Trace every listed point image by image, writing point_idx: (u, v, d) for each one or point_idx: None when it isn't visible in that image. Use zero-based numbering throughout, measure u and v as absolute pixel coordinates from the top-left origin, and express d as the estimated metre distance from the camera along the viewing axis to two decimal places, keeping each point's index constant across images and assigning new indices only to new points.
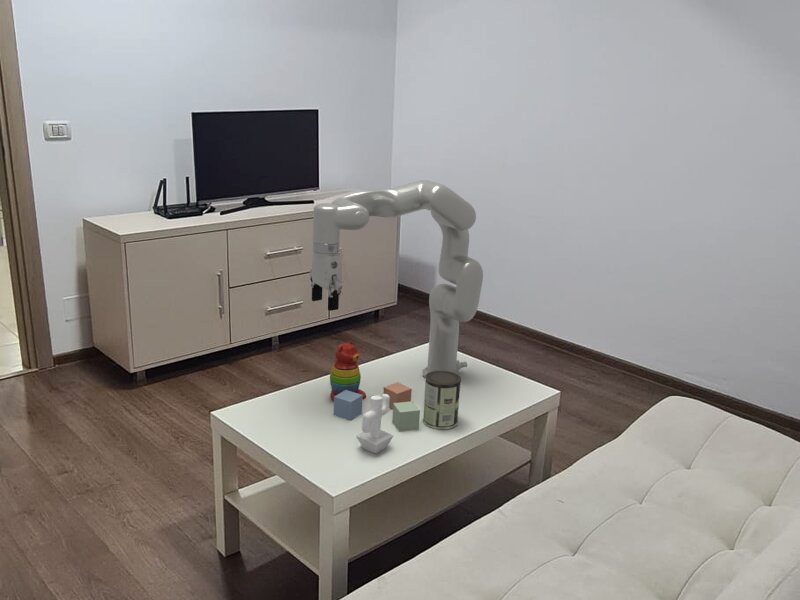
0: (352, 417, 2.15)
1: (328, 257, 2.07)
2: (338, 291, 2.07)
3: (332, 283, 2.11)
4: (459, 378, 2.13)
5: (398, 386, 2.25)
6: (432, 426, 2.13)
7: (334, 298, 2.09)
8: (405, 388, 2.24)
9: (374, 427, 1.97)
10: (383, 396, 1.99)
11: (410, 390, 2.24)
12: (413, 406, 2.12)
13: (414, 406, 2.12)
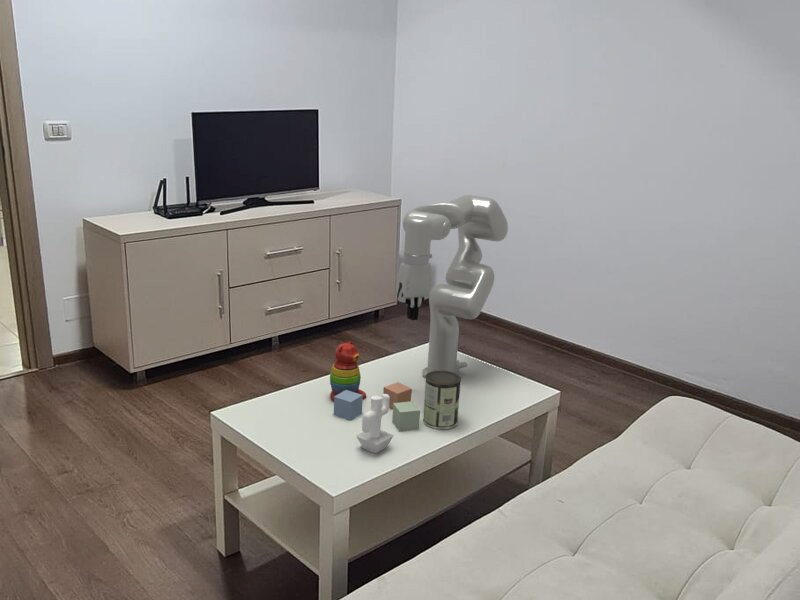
0: (352, 417, 2.15)
1: None
2: None
3: None
4: (459, 378, 2.13)
5: (398, 386, 2.25)
6: (432, 426, 2.13)
7: None
8: (405, 388, 2.24)
9: (374, 427, 1.97)
10: (383, 396, 1.99)
11: (410, 390, 2.24)
12: (413, 406, 2.12)
13: (414, 406, 2.12)
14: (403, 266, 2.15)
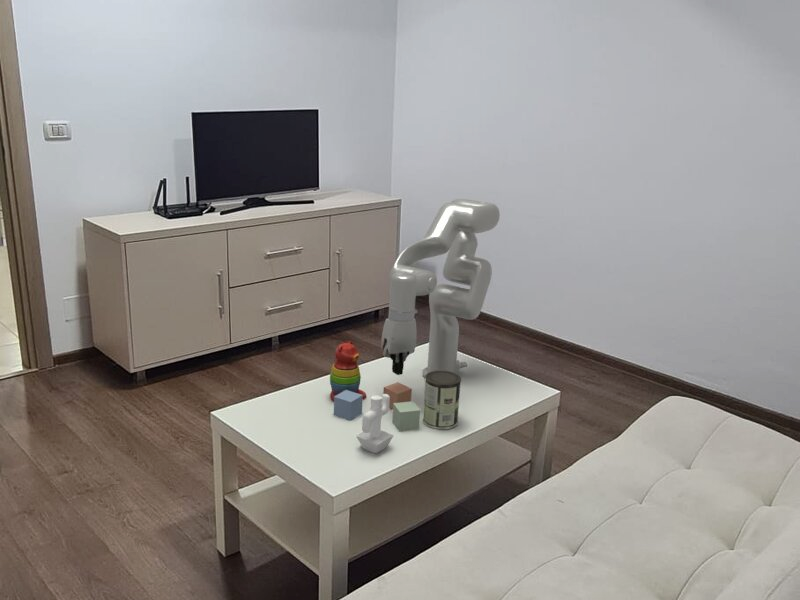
0: (352, 417, 2.15)
1: (415, 320, 2.18)
2: None
3: None
4: (459, 378, 2.13)
5: (398, 386, 2.25)
6: (432, 426, 2.13)
7: None
8: (405, 388, 2.24)
9: (374, 427, 1.97)
10: (383, 396, 1.99)
11: (410, 390, 2.24)
12: (413, 406, 2.12)
13: (414, 406, 2.12)
14: (388, 322, 2.15)
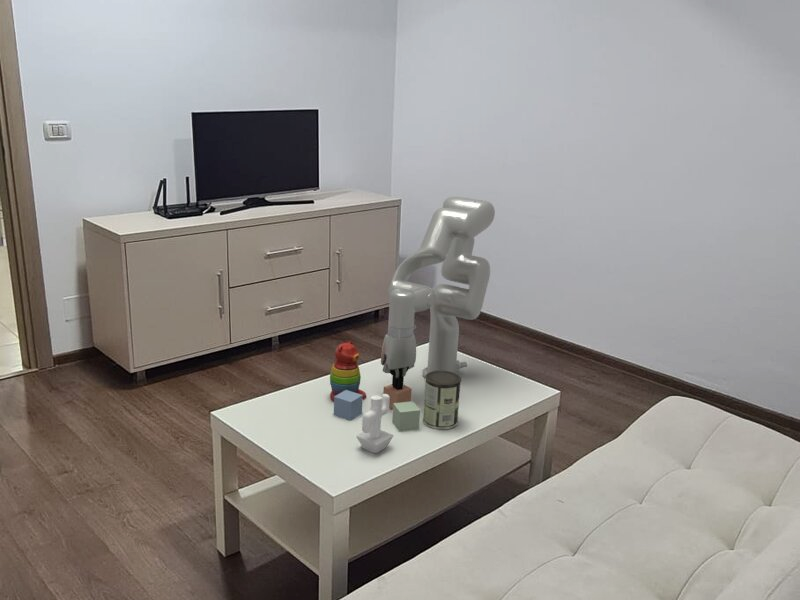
0: (352, 417, 2.15)
1: (414, 335, 2.20)
2: None
3: None
4: (459, 378, 2.13)
5: None
6: (432, 426, 2.13)
7: None
8: (405, 388, 2.24)
9: (374, 427, 1.97)
10: (383, 396, 1.99)
11: (410, 390, 2.24)
12: (413, 406, 2.12)
13: (414, 406, 2.12)
14: (387, 338, 2.16)
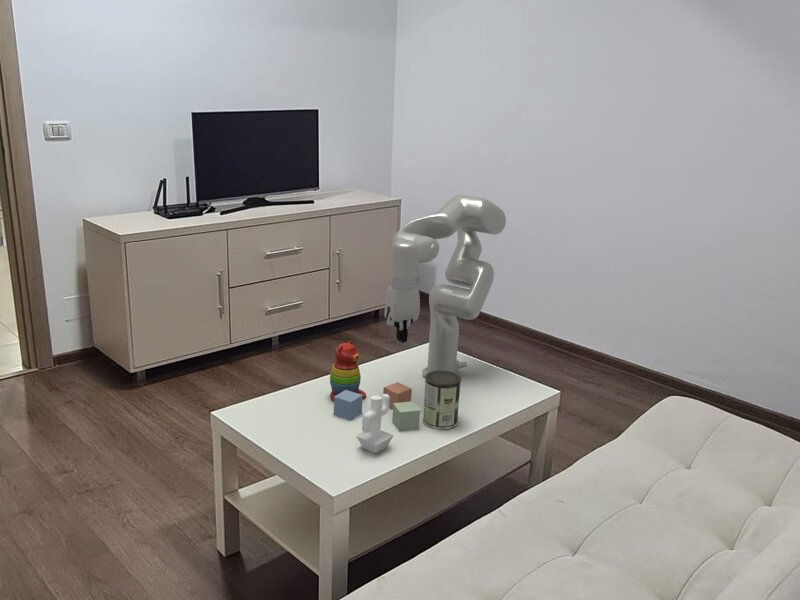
0: (352, 417, 2.15)
1: None
2: None
3: None
4: (459, 378, 2.13)
5: (398, 386, 2.25)
6: (432, 426, 2.13)
7: None
8: (405, 388, 2.24)
9: (374, 427, 1.97)
10: (383, 396, 1.99)
11: (410, 390, 2.24)
12: (413, 406, 2.12)
13: (414, 406, 2.12)
14: (391, 290, 2.14)
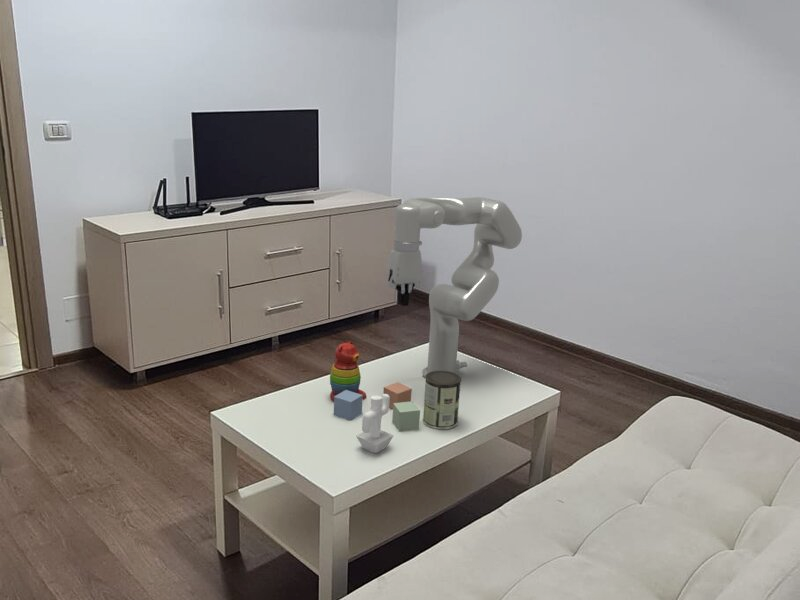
0: (352, 417, 2.15)
1: None
2: None
3: None
4: (459, 378, 2.13)
5: (398, 386, 2.25)
6: (432, 426, 2.13)
7: None
8: (405, 388, 2.24)
9: (374, 427, 1.97)
10: (383, 396, 1.99)
11: (410, 390, 2.24)
12: (413, 406, 2.12)
13: (414, 406, 2.12)
14: (393, 253, 2.19)
